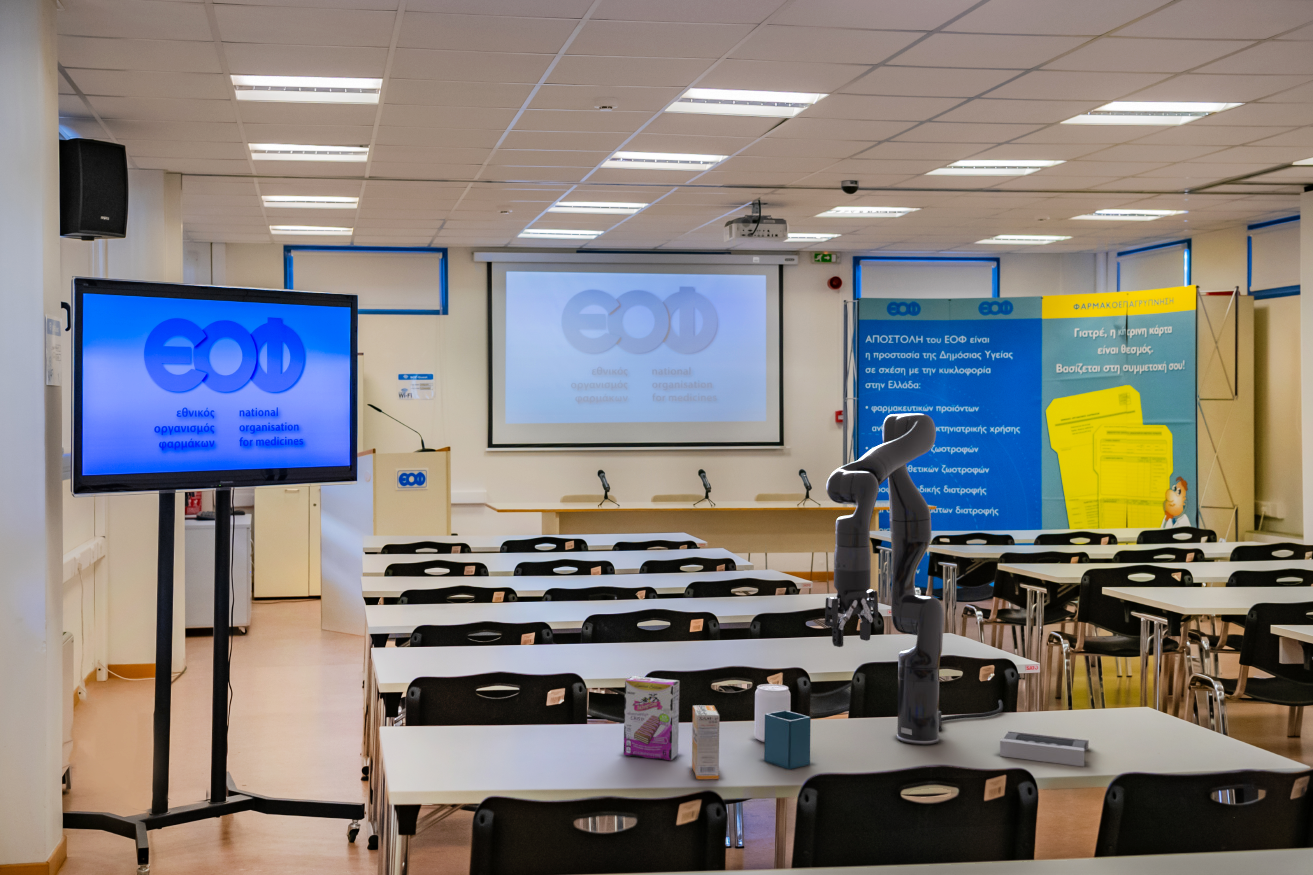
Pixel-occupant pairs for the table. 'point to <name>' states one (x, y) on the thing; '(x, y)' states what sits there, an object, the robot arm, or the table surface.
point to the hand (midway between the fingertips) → (851, 642)
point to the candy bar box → (651, 717)
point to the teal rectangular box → (787, 739)
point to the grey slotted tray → (1044, 748)
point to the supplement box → (705, 742)
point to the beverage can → (769, 705)
